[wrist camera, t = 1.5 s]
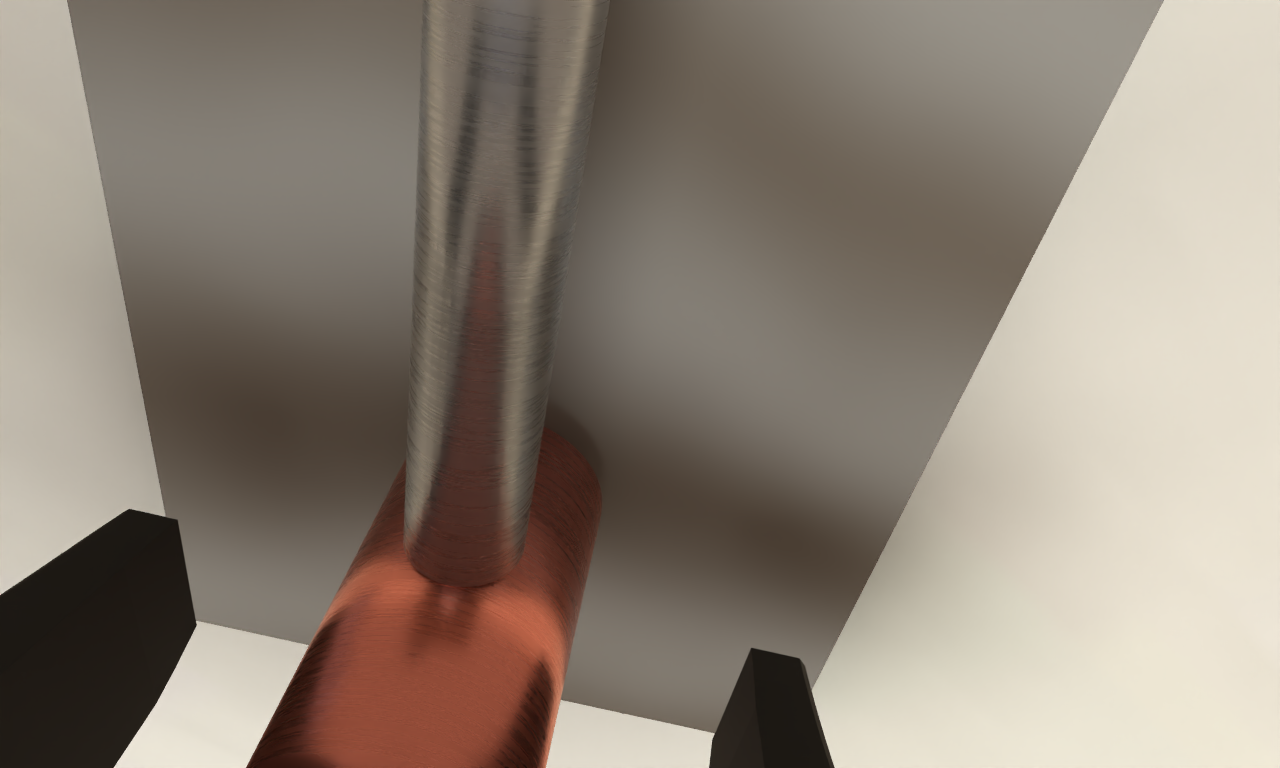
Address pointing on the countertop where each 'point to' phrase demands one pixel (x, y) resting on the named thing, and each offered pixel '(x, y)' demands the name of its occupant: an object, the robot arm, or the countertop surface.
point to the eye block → (594, 291)
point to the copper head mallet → (471, 426)
